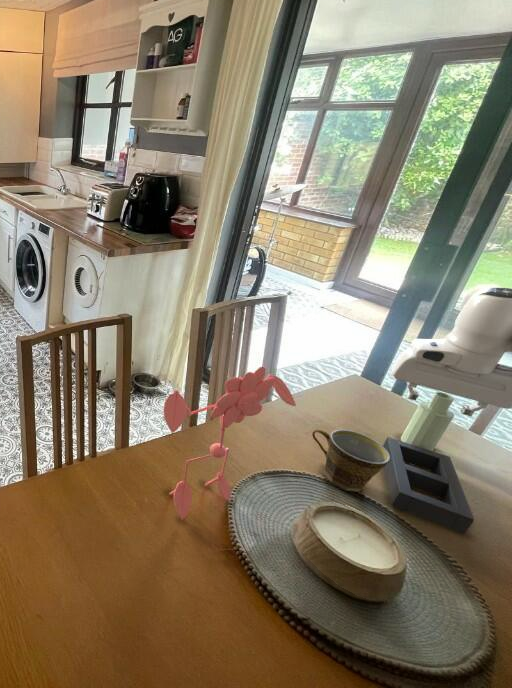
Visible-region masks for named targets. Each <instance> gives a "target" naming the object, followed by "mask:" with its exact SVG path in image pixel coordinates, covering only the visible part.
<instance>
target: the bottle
mask: <svg viewBox="0 0 512 688" xmlns="http://www.w3.org/2000/svg"><path fill="white" fill-rule="evenodd" d="M454 400H455V399H454V396H452V395H451V394H449V393H446V392H442V391H436V392H435V393H434V394H433V396H432V398H431V400H430V401H421V402H420V403H419V404H418V406H417V407H416V410H415V412H414V414H413V415H412V417H411V418H410V420H409V423H408V424H407V426H406V428H405V430H404V431H403V433H402V435H401V436H400V441H402V442H405V443H409V444H412V445H415V446H418V447H421V448H424V449H427V450H430V451H433V452H434V450H435V448H436V447H437V446H438V443H439V442H440V440H441V439H442V437H443V436H444V434H445V432H446V430H447V429H448V427H449V425H450V424H451V422H452V420H453V419H454V417H455V414H454V412H453V411H451V409H449V408H450V407H451V406H452V403H453V402H454Z"/></svg>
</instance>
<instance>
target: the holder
mask: <svg viewBox="0 0 512 688" xmlns="http://www.w3.org/2000/svg"><path fill="white" fill-rule="evenodd" d="M382 446H383V447H384V448H385V449H386V450H387V452H388V453H389V455H390V460H389V462H388V463H387V464H386V465H385V466H384V467H383V468H384V471H385V477H386V482H387V488H388V492H389V498H390V503H391V506H392V507H395V508H397V509H398V510H399V509H400V510H402V511H405V512H407V513H410V514H412V515H415V516H418V517H420V518H422V519H426V520H428V521H432V522H433V523H435V524H439V525H441V526H444V527H446V528H448V529H451V530H453V531H457V532H459V533H462V534H465V533H466V532H467V531H468V530H469V528H470V527H471V525H472V524H473V523H474V521H475V517H474V515H473V512H472V510H471V508H470V505H469V502H468V499H467V497H466V495H465V492H464V489H463V486H462V484H461V482H460V479H459V477H458V474H457V471H456V469H455V466H454V464H453V461H452V459H451V456H448V455H445V454H443V453H439V452H436V451H434V450H433V451H430V450H427V449H424V448H421V447H418V446H415V445H412V444H409V443H405V442H402V441H401V440H398V439H396V438H392V437H389V436H387V437H386V439H385V441H384V443H383V445H382ZM421 468H422V469H421ZM424 469H425V470H424ZM412 488H413V489H416V490H419V491H420V492H424V493H427V494H429V495H433V496H435V497H437V498H440V500H439V499H437V498H433V497H430V496H428V495H425V494H422V493H420V492H418V491H417V492H416V491H414V490H412Z"/></svg>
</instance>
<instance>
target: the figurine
mask: <svg viewBox="0 0 512 688" xmlns="http://www.w3.org/2000/svg"><path fill="white" fill-rule="evenodd" d="M265 376H266V366H264V365H263V366H259V367H258V368H257V369H256V370H254V371H253V372H252V371H248V372H246V373H244V374H243V377H240V376H239V377H238V376H233V377H230V378H229V379H227V380H226V381H225V383H224V389H225V391H226V393H225V394H223V395H222V396H221V397H220V398H219V399H218V400H217V401H216V402H215V403H214V404H211V405H208V406H204V407H202V408H199V409H195V410H193V411H191V409H190V407H188V405H187V404H186V401H185V398H184V396H182V395H181V394H180V391H179V390H178V389H174V390H173V393H171V394H169V395H168V396H167V398H166V400H165V401H164V405H163V418H164V421H165V424H166V425H167V427H168V430H169V431H170V432H171V434H173V433H175V432H176V431H178V429H179V428H180V427H181V426H182V424H184V421H185V419H186V417H187V413H188V415H189V416H192V415H195V414H199V413H201V412H205V411H207V410H211V409H212V411H211V413H210V418H212V419H217V418H219V422H220V428H221V430H220V441H219V443H216V442H215V443H213V444H211V445H210V447H209V451H210V454H207V455H203V456H199V457H195V458H191V459H187V460H186V461H185V465H184V466H185V467H184V472H183V473H184V474H183V480H181V481H179V482H178V483H176V486H175V488H174V490H172V491H170V492H169V496H173V504H174V508H175V510H176V512H177V514H178V517H179V518H180V519H181V520H184V518H185V517H186V515H187V514H188V512H189V511H190V509H191V506H192V501H193V493H192V490H191V487H190V485H189V483H188V482H187V475H188V474H187V473H188V465H189V463H190V462H191V463H192V462H194V461H195V462H196V461H199V460H203V459H207V458H210V457H214V458H217V459H221V458H223V457H224V460H223V463H222V464H223V465H222V470H221V471H218V472H217V473H216V477H215V478H213V479H211V480H210V481H207V482H206V483H204V486H205V487H208V486H211V485H212V484H214V483H217V487H218V490H219V494H220V495H221V496H222V497H223V498H224V499H225V500H226V501H228V502H232V498H231V497H232V496H231V490H230V485H229V482H228V479H227V477H226V476H225V474H224V472H225V468H226V464H227V460H228V455H229V451H230V449H229V447H225V446H224V444H223V443H224V438H225V430H226V429H227V428H229V427H231V425H232V424H233V423H236V424H240V423H241V422H242V421H244V419H245V418H246V417H253V416H256V415H258V414H260V413H261V412H262V410H263V405H262V404H261V401H263V400H264V399H265V398H267V397H268V396H269V394H271V388H272V387H273V389H274V391H275V393H276V395H278V398H280V400H282V401H283V402H284V403H285V404H287V405H288V406H289V405H290V406H292V407H297V404H296V402H295V401H296V400H295V399H294V397H293V394H292V392H291V390H290V389H289V387H288V386H287V384H286V383H285V382H284V380H282V378H280V377H278V376H277V375H273V374H272V373H271V374H270V373H269V374H267V377H265ZM144 498H145V500H146V503H149V502H148V500H147V497H146V496H144ZM258 515H259V516H258V517H261V516H260V515H261V514H258ZM259 523H262V522H261V520H259ZM256 538H257V536H255V537H254V539H256ZM252 542H253V540H251V541H250V542H249V543H247V544H244V545H242V546H240V547H239V549H241V548H244V547H246V546H249V544H251V543H252ZM212 549H213V550H217V548H215V547H214V548H212ZM237 549H238V547H235V548H234V550H237ZM219 550H221V551H227V550H230V551H231V550H233V548H219Z"/></svg>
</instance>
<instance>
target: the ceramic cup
mask: <svg viewBox="0 0 512 688" xmlns="http://www.w3.org/2000/svg"><path fill="white" fill-rule="evenodd" d="M316 433H319V434H320V435H322V436H323V437H324V438H325V439H326V442H327V450H326V449H325V448H324V447H323V445H322V443H321V442H320V441H319V439H318V438H317V437H316ZM311 435H312V438H313V440H315V442H316V444H318V446H319V448H320V450H321V451H322V452H323V453H324V456H325V466H324V471H323V473H324V476H325V477H326V478H327V479H328V480H329V483H331V484H332V485H335V486H337V487H339V488H340V489H342V490H344V491H348V492H358V493H359V492H360V491H361V490H362V489H363V488H364V487H365V486H366V485H367V484H368V483H369V481H370V480H371V479H372V478H373V477H375V476H376V475H377V474H378V473H379V472H380V471H382V470H383V469H384V468H385V467H384V466H385V465H386V464H387V463H388V462H389V460H390V455H389V453H388V452H387V450H386V449H385V448H384V447H383V445H382V444H381V443H379V442H377V440H375V439H373V438H371V437H370V436H367V435H365V434H363V433H360V432H356V431H353V430H349V429H336V430H333V431H332V432H331V434H329V433H328V432H327V431H325V430H323V429H314V430H313V431H312V434H311Z"/></svg>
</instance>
